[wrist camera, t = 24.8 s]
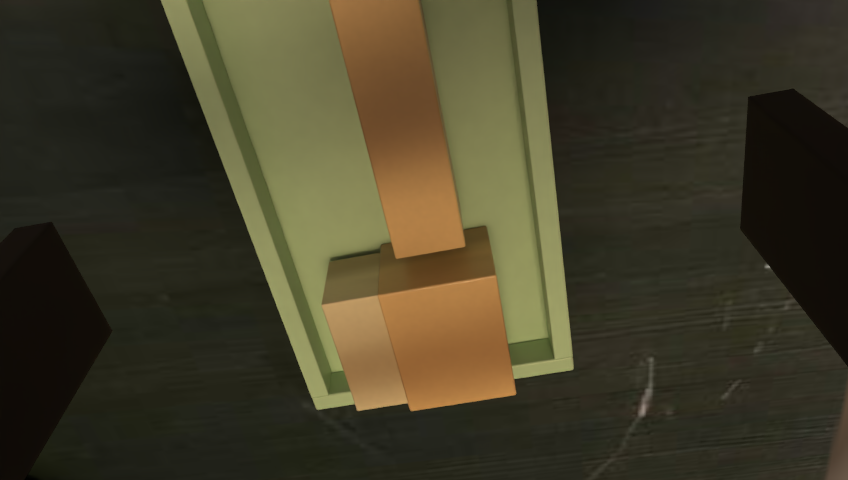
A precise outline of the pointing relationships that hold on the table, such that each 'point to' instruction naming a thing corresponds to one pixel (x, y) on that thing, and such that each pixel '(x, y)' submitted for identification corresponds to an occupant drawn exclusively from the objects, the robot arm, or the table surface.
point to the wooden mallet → (412, 235)
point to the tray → (351, 168)
